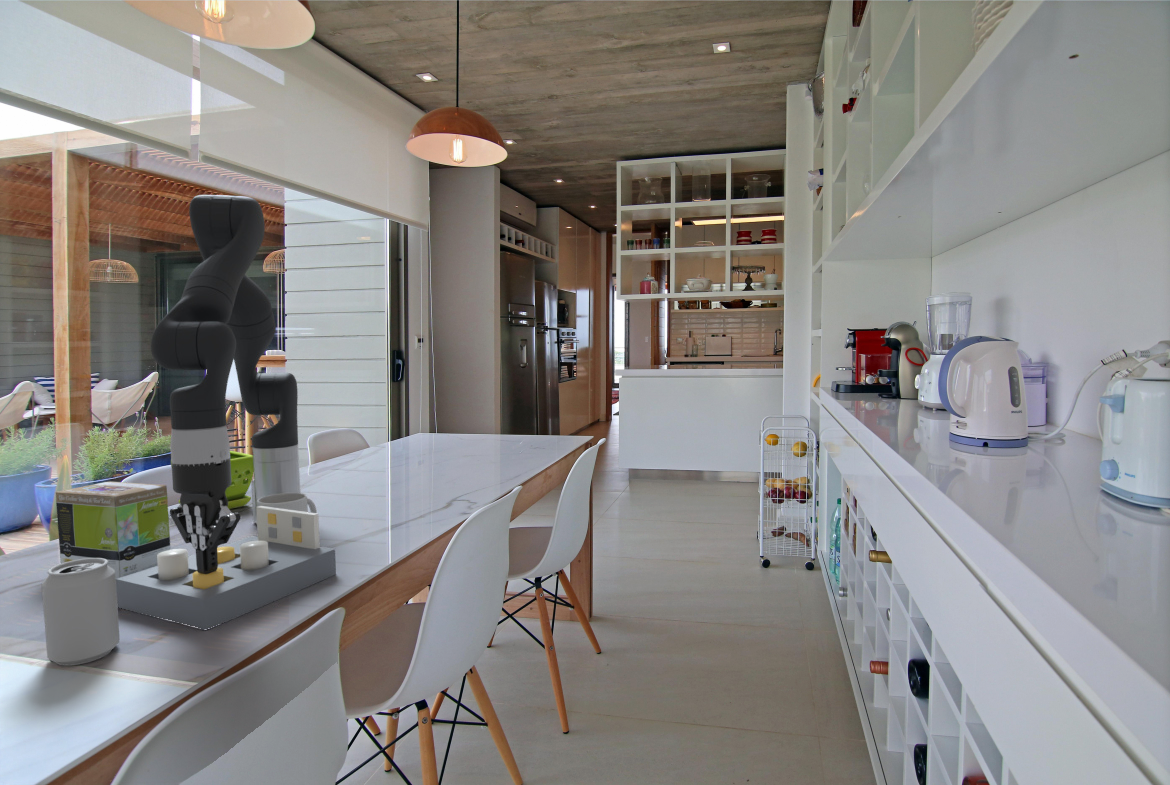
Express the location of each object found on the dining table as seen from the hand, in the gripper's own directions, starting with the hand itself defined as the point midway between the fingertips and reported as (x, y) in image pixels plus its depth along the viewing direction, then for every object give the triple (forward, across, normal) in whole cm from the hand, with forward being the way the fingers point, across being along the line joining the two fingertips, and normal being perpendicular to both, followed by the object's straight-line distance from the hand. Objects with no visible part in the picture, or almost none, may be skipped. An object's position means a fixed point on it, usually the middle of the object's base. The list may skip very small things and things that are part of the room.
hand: (207, 572), depth 99 cm
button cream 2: (+3, 0, +8) cm, 9 cm away
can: (+6, -2, -16) cm, 17 cm away
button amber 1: (+5, -8, +8) cm, 13 cm away
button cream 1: (+3, -8, 0) cm, 9 cm away
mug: (+6, -14, +27) cm, 31 cm away
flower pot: (+6, -56, +42) cm, 70 cm away
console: (+6, -4, +7) cm, 10 cm away
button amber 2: (+5, 0, 0) cm, 5 cm away
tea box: (+6, -33, +6) cm, 34 cm away
